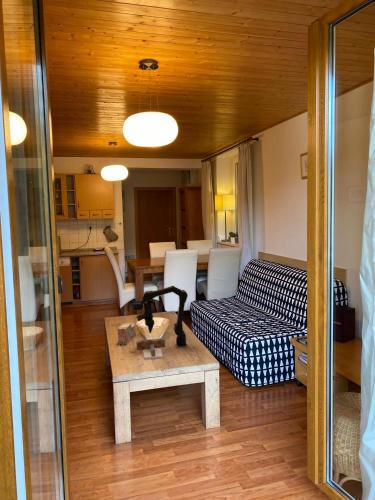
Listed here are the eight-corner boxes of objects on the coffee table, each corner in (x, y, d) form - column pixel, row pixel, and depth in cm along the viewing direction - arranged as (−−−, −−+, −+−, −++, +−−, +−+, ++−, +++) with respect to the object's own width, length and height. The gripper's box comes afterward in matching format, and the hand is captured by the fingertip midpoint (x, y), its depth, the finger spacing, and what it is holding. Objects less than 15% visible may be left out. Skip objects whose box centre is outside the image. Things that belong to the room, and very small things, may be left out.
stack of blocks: (128, 335, 308) (127, 319, 307) (136, 335, 307) (135, 320, 306) (118, 344, 287) (117, 328, 286) (126, 345, 286) (125, 328, 285)
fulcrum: (160, 350, 273) (160, 342, 273) (162, 358, 260) (162, 349, 259) (143, 351, 271) (142, 344, 271) (144, 359, 258) (144, 351, 257)
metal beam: (164, 344, 286) (163, 338, 285) (165, 346, 282) (164, 339, 281) (136, 347, 281) (136, 340, 280) (137, 349, 277) (136, 342, 276)
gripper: (136, 307, 286) (137, 328, 287) (137, 313, 267) (138, 336, 269) (151, 305, 288) (152, 326, 289) (153, 312, 269) (155, 334, 271)
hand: (149, 330), depth 280 cm, fingers open, 9 cm apart
